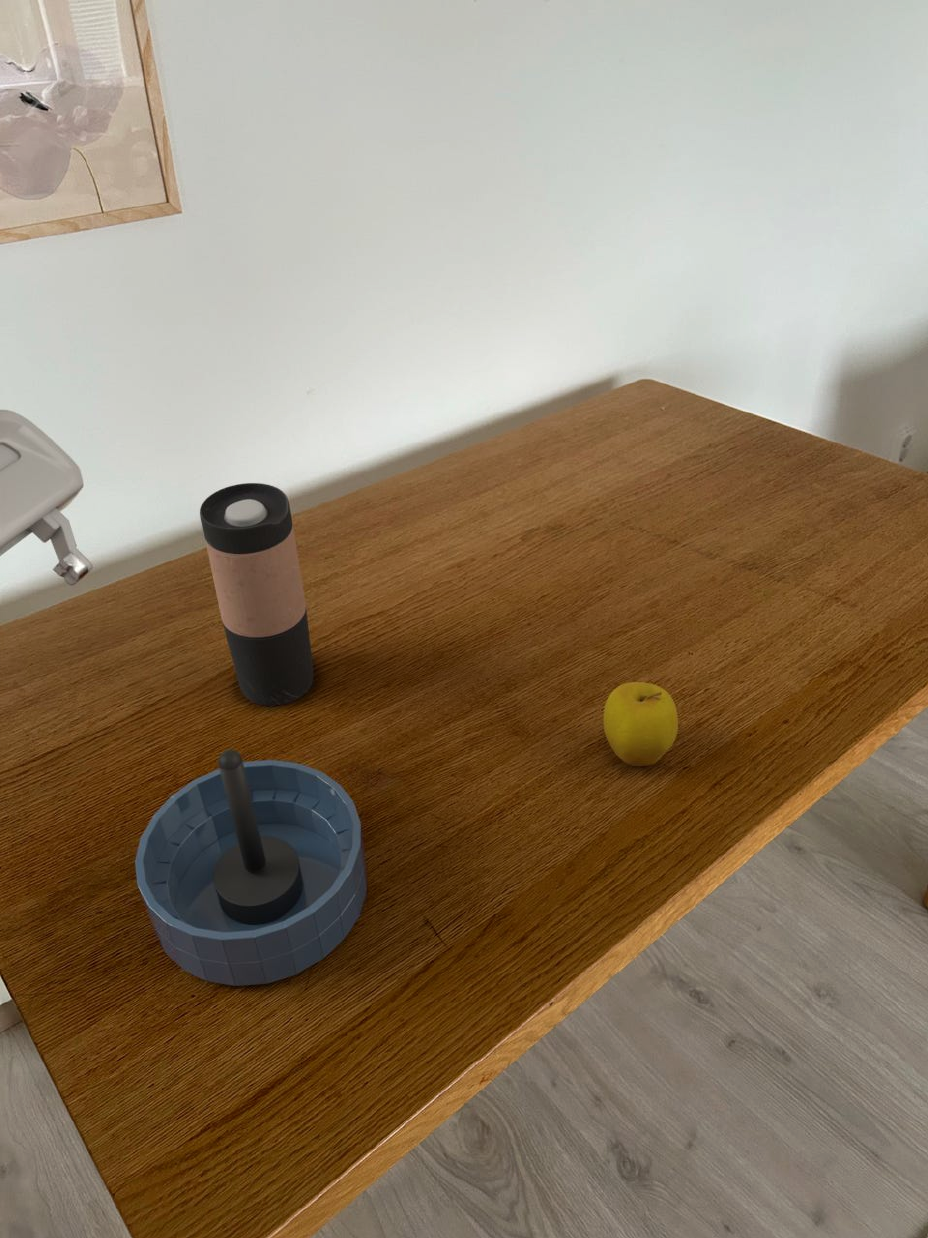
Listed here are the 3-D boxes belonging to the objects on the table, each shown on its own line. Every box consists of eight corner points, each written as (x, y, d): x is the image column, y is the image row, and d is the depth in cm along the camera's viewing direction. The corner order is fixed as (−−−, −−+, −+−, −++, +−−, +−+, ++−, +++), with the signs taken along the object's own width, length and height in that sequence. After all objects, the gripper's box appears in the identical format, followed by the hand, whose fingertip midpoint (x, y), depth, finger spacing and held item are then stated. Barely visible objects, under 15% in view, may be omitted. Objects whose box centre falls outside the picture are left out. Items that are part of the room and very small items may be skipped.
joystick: (255, 940, 72) (220, 805, 62) (201, 893, 75) (160, 757, 66) (320, 884, 75) (295, 748, 66) (266, 842, 79) (235, 706, 69)
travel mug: (230, 666, 97) (191, 492, 84) (306, 647, 99) (279, 474, 86) (245, 717, 91) (205, 538, 79) (325, 696, 93) (299, 518, 81)
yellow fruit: (684, 774, 85) (696, 707, 80) (613, 786, 84) (621, 719, 79) (658, 723, 89) (668, 657, 85) (591, 734, 89) (596, 668, 84)
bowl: (248, 1037, 67) (232, 984, 63) (112, 906, 75) (90, 853, 71) (410, 884, 76) (406, 830, 72) (274, 783, 85) (262, 730, 81)
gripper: (-275, 521, 53) (-72, 700, 56) (1, 369, 67) (149, 517, 70) (-290, 571, 57) (-101, 734, 60) (-28, 417, 71) (114, 555, 75)
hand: (36, 616), depth 65 cm, fingers open, 8 cm apart
